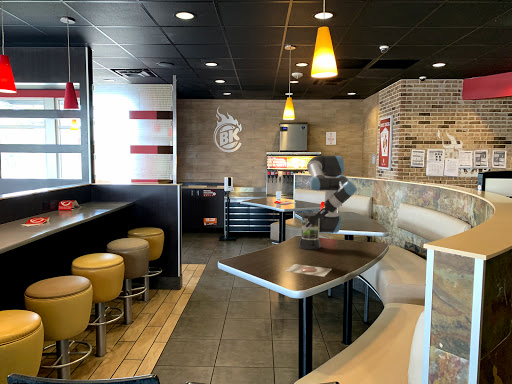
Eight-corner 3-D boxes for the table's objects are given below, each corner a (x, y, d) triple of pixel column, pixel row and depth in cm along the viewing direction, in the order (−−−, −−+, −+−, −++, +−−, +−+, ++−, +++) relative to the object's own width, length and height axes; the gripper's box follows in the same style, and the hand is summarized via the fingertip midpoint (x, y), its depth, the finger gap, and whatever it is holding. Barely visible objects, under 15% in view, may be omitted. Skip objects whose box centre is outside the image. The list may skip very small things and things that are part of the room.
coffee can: (312, 241, 221) (313, 216, 220) (298, 238, 228) (298, 214, 227) (323, 238, 229) (323, 214, 228) (308, 235, 236) (308, 212, 235)
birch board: (284, 272, 213) (284, 270, 213) (294, 265, 227) (294, 264, 227) (324, 278, 204) (324, 276, 204) (331, 270, 218) (331, 268, 218)
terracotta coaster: (298, 270, 213) (298, 270, 213) (303, 266, 221) (303, 266, 221) (314, 273, 209) (314, 272, 209) (318, 269, 218) (318, 268, 218)
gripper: (332, 210, 210) (303, 236, 218) (342, 206, 231) (315, 230, 239) (323, 200, 212) (295, 226, 220) (333, 196, 232) (307, 221, 241)
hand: (305, 228), depth 229 cm, fingers closed on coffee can, 10 cm apart
